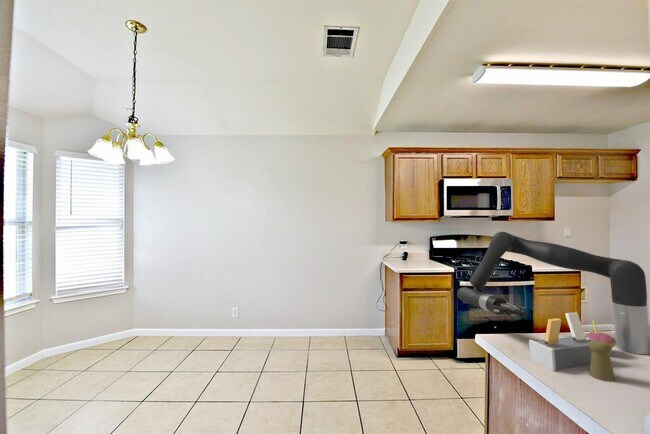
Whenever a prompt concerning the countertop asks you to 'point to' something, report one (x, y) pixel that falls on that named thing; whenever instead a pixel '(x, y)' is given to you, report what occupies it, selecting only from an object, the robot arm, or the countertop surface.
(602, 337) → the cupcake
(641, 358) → the countertop surface
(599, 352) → the cork
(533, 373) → the countertop surface
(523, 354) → the countertop surface
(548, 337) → the outlet rocker
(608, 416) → the countertop surface
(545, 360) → the switch box
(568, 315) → the rocker switch
